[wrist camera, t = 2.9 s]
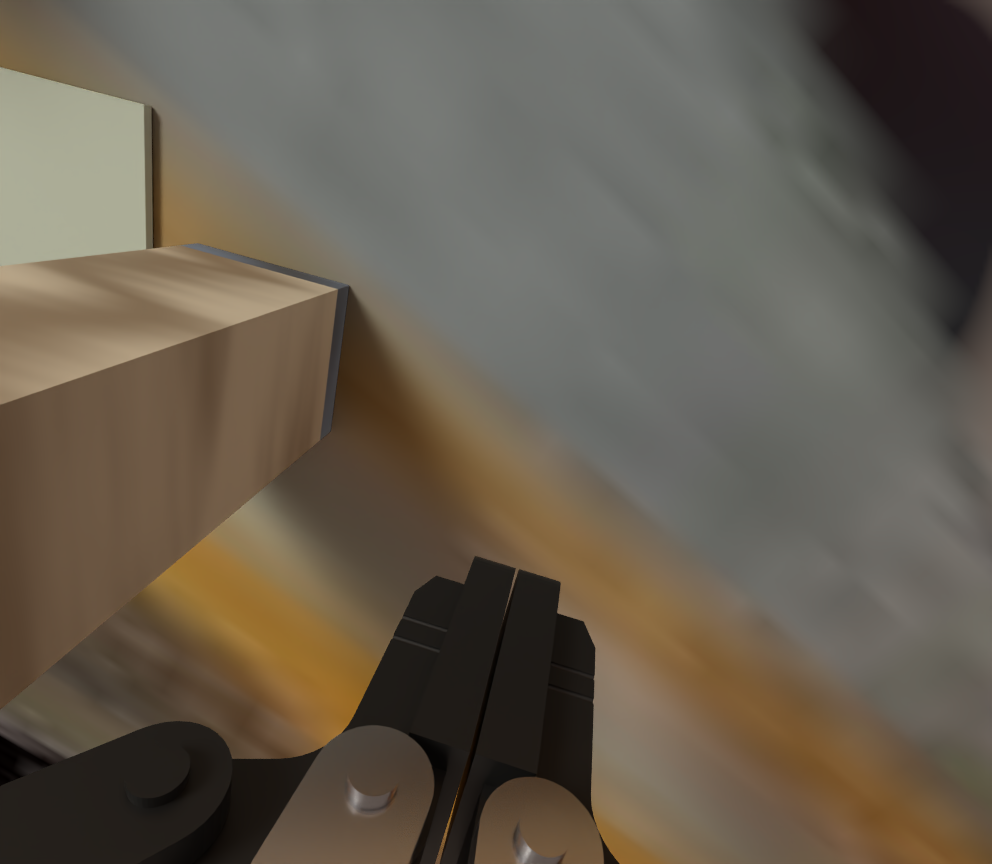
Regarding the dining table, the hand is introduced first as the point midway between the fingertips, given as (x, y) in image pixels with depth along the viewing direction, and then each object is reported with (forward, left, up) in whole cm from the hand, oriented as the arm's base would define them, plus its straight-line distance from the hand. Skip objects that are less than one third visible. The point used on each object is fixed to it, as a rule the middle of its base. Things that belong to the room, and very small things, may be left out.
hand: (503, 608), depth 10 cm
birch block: (-10, 0, -9) cm, 13 cm away
